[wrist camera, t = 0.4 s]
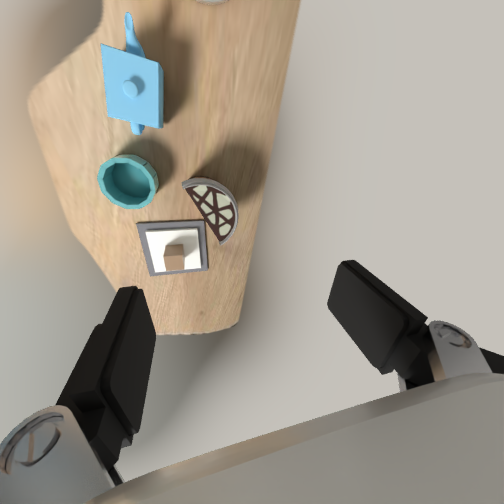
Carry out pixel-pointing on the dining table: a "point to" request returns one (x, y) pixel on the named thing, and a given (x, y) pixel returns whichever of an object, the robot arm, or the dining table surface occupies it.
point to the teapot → (133, 83)
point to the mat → (173, 225)
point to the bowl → (128, 181)
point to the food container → (214, 205)
